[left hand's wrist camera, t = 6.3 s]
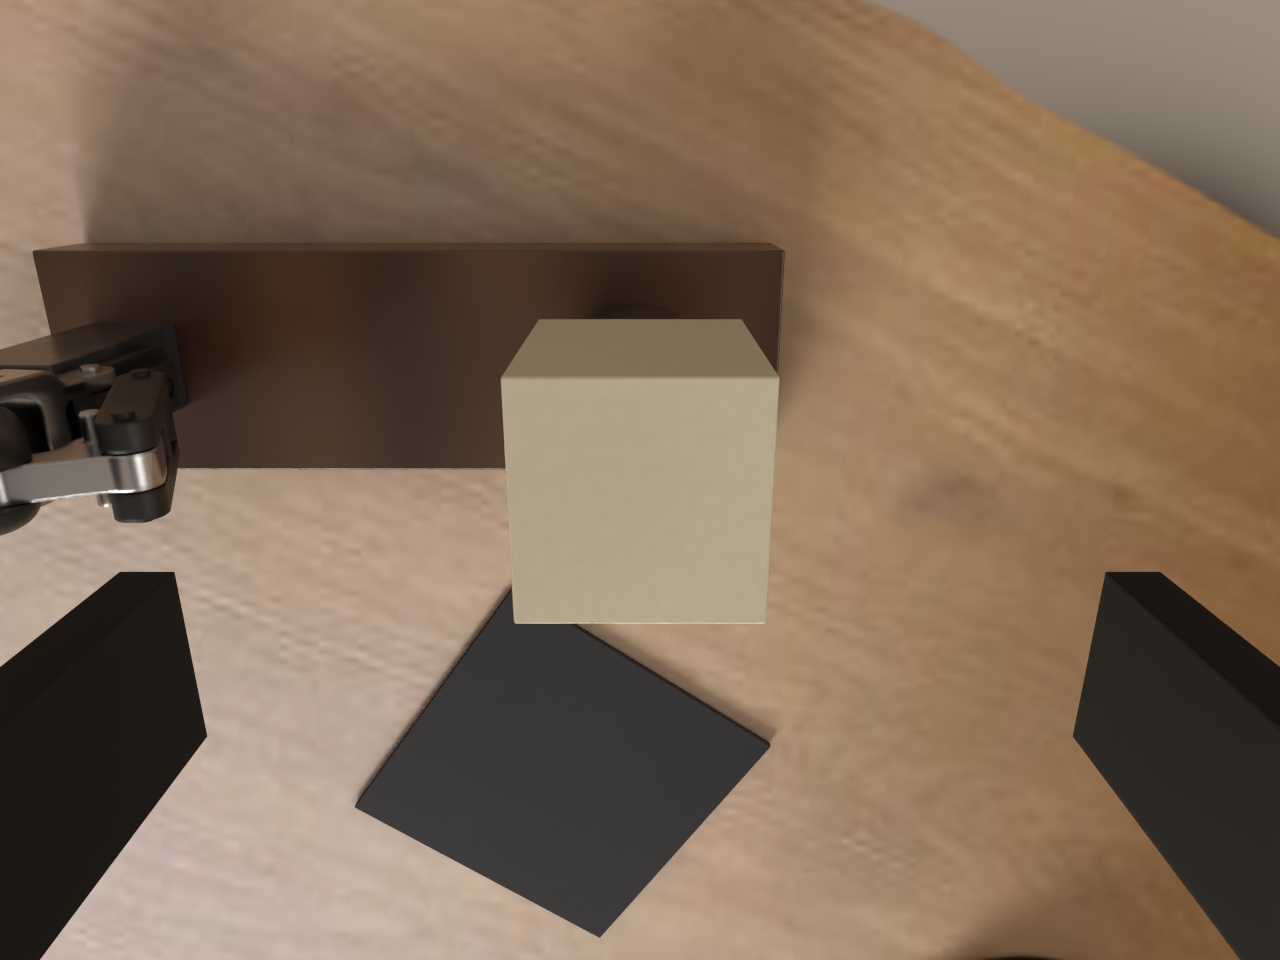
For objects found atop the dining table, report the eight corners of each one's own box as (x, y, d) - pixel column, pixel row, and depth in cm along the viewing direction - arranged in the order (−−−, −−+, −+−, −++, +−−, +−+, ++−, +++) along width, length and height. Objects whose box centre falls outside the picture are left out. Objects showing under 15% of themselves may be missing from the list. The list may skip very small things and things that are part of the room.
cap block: (741, 318, 24) (779, 376, 18) (734, 508, 26) (766, 624, 20) (538, 318, 24) (500, 376, 18) (545, 508, 26) (513, 625, 20)
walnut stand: (772, 243, 33) (825, 274, 24) (762, 445, 36) (806, 545, 27) (82, 243, 33) (-137, 274, 24) (124, 445, 36) (-59, 545, 27)
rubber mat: (770, 742, 41) (770, 746, 40) (600, 933, 45) (599, 938, 44) (513, 585, 38) (512, 588, 38) (356, 803, 42) (354, 807, 42)
